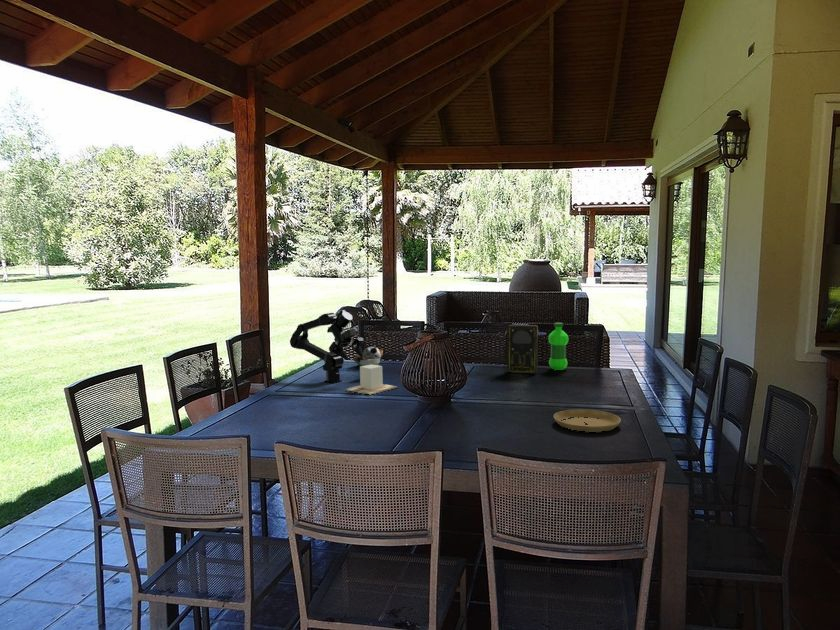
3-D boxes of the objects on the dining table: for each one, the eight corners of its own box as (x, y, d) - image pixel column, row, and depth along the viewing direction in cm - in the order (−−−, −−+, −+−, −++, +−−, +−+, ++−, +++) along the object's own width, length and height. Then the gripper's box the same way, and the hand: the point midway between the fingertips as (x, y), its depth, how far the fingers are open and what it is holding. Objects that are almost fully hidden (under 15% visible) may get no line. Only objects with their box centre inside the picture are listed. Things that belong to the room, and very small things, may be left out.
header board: (345, 390, 295) (345, 381, 295) (372, 384, 309) (372, 375, 308) (370, 395, 285) (369, 386, 284) (397, 388, 298) (396, 379, 298)
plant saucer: (571, 413, 251) (571, 405, 251) (630, 423, 236) (631, 415, 236) (541, 427, 233) (541, 418, 232) (604, 439, 218) (604, 430, 217)
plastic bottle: (544, 368, 339) (545, 322, 337) (562, 367, 343) (562, 321, 340) (554, 372, 330) (554, 324, 327) (571, 370, 333) (572, 323, 330)
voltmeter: (506, 373, 329) (506, 325, 326) (509, 370, 337) (509, 323, 335) (536, 374, 325) (537, 326, 322) (538, 371, 333) (539, 324, 330)
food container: (369, 381, 316) (368, 361, 315) (360, 379, 320) (359, 360, 319) (385, 376, 326) (384, 357, 325) (376, 375, 329) (375, 356, 328)
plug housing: (371, 389, 291) (370, 368, 290) (360, 387, 296) (359, 366, 295) (382, 387, 297) (382, 366, 296) (371, 384, 302) (371, 364, 301)
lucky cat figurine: (366, 363, 363) (377, 342, 361) (379, 373, 356) (390, 352, 354) (348, 359, 352) (359, 337, 350) (360, 370, 344) (372, 348, 342)
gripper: (331, 325, 298) (348, 350, 292) (361, 321, 312) (377, 345, 306) (321, 340, 304) (337, 365, 298) (350, 335, 318) (366, 359, 312)
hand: (355, 358), depth 303 cm, fingers open, 9 cm apart
